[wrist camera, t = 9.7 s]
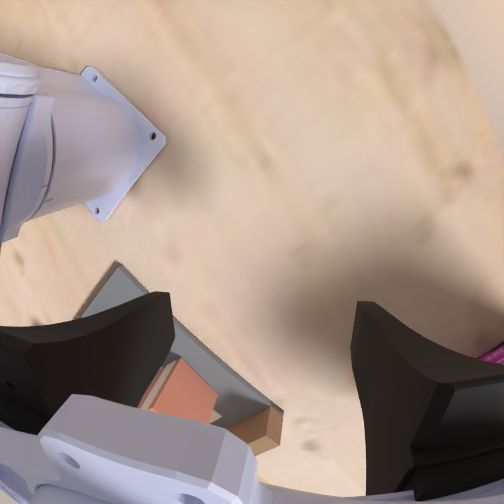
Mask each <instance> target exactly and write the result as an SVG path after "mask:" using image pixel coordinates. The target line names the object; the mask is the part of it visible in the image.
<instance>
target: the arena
mask: <svg viewBox="0 0 504 504" xmlns="http://www.w3.org/2000/svg"><path fill="white" fill-rule="evenodd" d="M148 293H149V292H148V291H147V290H146V289H145V288H144V287H143V286H142V285H141V284H140V283H139V282H138V281H137V280H136V279H135V277H134V276H133V275H132V274H131V273H130V272H129V271H128V270H127V269H126V268H125V267H124V266H123V265H120V266H119V267H118V268H117V269H116V270H115V272H114V273H113V274H112V276H111V277H110V278H109V280H108V281H107V282H106V284H105V285H104V286H103V288H102V289H101V290H100V292H99V293H98V294H97V296H96V297H95V298H94V300H93V301H92V302H91V304H90V305H89V307H88V308H87V309H86V311H85V312H84V314H83V315H82V316H81V318H84V317H87V316H90V315H94V314H97V313H99V312H102V311H105V310H107V309H110V308H113V307H115V306H118V305H120V304H123V303H125V302H128V301H130V300H132V299H135V298H137V297H140V296H142V295H145V294H148ZM173 322H174V329H175V336H176V337H175V339H174V342H173V344H172V347H171V349H170V352H169V354H168V356H167V358H166V359H165V361H164V363H163V364H162V366H161V368H160V369H162V368H164V367H165V366H167V365H168V364H170V363H171V362H173V361H175V360H178V359H179V358H181V357H182V358H183V359H184V360H185V362H186V363H187V364H188V365H189V366H190V367H191V368H192V369H193V370H194V371H195V372H196V373H197V374H198V375H199V376H200V377H201V378H202V379H203V380H204V381H205V382H206V383H207V384H208V385H209V386H210V387H211V388H212V389H213V390H214V391H215V392H216V393H217V394H218V397H217V400H216V402H215V405H214V408H213V411H212V414H211V416H210V419H209V422H208V424H211V425H214V426H218V427H221V428H225V429H226V430H228V431H229V432H231V433H232V434H234V435H235V436H237V437H238V438H240V439H241V440H243V441H244V442H246V443H247V444H248V445H249V446H250V448H251V450H252V452H253V454H254V456H256V455H259V454H261V453H263V452H266V451H268V450H270V449H273V448H275V447H277V446H279V445H280V440H281V431H282V422H283V413H284V411H283V410H282V409H281V408H279V407H278V406H277V405H275V404H274V403H273V402H272V401H270V400H269V399H268V398H267V397H265V396H264V395H263V394H262V393H260V392H259V391H258V390H257V389H255V388H254V387H253V386H252V385H250V384H249V383H248V382H247V381H246V380H244V379H243V378H242V377H241V376H240V375H238V374H237V373H236V372H235V371H234V370H233V369H231V368H230V367H229V366H228V365H227V364H226V363H224V362H223V361H222V360H221V359H220V358H219V357H217V356H216V355H215V354H214V353H213V352H212V351H211V350H210V349H208V348H207V347H206V346H205V345H204V344H203V343H202V342H201V341H200V340H198V339H197V338H196V337H195V336H194V335H193V334H192V333H191V332H190V331H189V330H188V329H186V328H185V327H184V326H183V325H182V324H181V323H180V322H179V321H178V320H177V319H176V318H175V317H174V316H173ZM160 369H159V370H160Z"/></svg>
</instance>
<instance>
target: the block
mask: <svg viewBox="0 0 504 504" xmlns="http://www.w3.org/2000/svg"><path fill="white" fill-rule="evenodd" d="M217 397H218V394H217V393H216V392H215V391H214V390H213V389H212V388H211V387H210V386H209V385H208V384H207V383H206V382H205V381H204V380H203V379H202V378H201V377H200V376H199V375H198V374H197V373H196V372H195V371H194V370H193V369H192V368H191V367H190V366H189V365H188V364H187V363H186V362H185V360H184V359H183V358H182V357H181V358H179V359H178V360H175V361H173V362H171V363H170V364H168V365H167V366H165V367H164V368H162V369H160V370H159V371H158V372H157V374H156V376H155V377H154V379H153V380H152V382H151V384H150V385H149V387H148V388H147V390H146V392H145V393H144V395H143V397H142V399H141V401H140V403H139V405H138V407H137V408H139V409H143V410H147V411H152V412H156V413H161V414H166V415H171V416H176V417H181V418H187V419H192V420H199V421H202V422H205V423H208V422H209V419H210V416H211V414H212V411H213V408H214V405H215V402H216V400H217Z"/></svg>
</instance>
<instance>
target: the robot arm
mask: <svg viewBox="0 0 504 504" xmlns="http://www.w3.org/2000/svg"><path fill="white" fill-rule="evenodd" d="M96 77H97V80H96V81H95V78H96ZM153 133H155V134H156V138H155V139H154V140H153V139H152V134H153ZM166 141H167V140H166V137H165V135H164V134H162V133H161V132H160V131H159V130H158V129H157V128H156V127H155V126H154V125H153V124H152V123H151V122H150V121H149V120H148V119H147V118H146V117H145V116H144V115H143V114H142V113H141V112H140V111H139V110H138V109H137V108H136V107H135V106H134V105H133V104H132V103H131V102H130V101H129V100H128V99H126V98H125V97H124V96H123V95H122V94H121V93H120V92H119V91H118V90H117V89H116V88H115V87H114V86H113V85H112V84H111V83H110V82H109V81H108V80H107V79H106V78H105V77H104V76H102V75H101V74H100V73H99V72H98V71H97V70H96V69H95V68H94V67H92V66H88V67H86V68H85V69H84V70H83V72H82V73H81V75H76V74H72V73H68V72H63V71H59V70H54V69H50V68H45V67H40V66H36V65H35V64H33V63H31V62H28V61H25V60H22V59H19V58H16V57H12V56H9V55H5V54H0V253H1V245H2V244H1V243H3V242H6V241H8V240H10V239H13V238H15V237H18V233H19V229H20V227H21V226H22V224H23V223H24V222H27V221H29V220H32V219H35V218H38V217H41V216H44V215H47V214H50V213H53V212H56V211H59V210H62V209H65V208H69V207H72V206H75V205H78V204H81V203H83V204H84V205H85V206H86V207H87V208H88V210H89V211H90V212H91V213H92V214H93V215H94V216H95V218H96V219H97V220H98V221H99V222H104V221H106V220H107V219H108V218H109V217H110V215H111V214H112V212H113V211H114V210H115V208H116V207H117V205H118V204H119V203H120V201H121V200H122V199H123V197H124V196H125V195H126V193H127V192H128V191H129V189H130V188H131V187H132V186H133V184H134V183H135V182H136V180H137V179H138V178H139V177H140V175H141V174H142V173H143V172H144V170H145V169H146V168H147V167H148V165H149V164H150V163H151V162H152V160H153V159H154V158H155V157H156V156H157V154H158V153H159V152H160V151H161V150H162V149H163V147H164V146H165V145H166ZM97 208H98V209H99V213H98V212H97ZM175 337H176V336H175V329H174V322H173V315H172V308H171V300H170V293H169V292H157V291H156V292H151V293H148V294H145V295H142V296H140V297H137V298H135V299H132V300H130V301H128V302H125V303H123V304H120V305H118V306H115V307H113V308H110V309H107V310H105V311H102V312H99V313H97V314H94V315H90V316H87V317H84V318H80V319H76V320H72V321H67V322H62V323H56V324H50V325H42V326H29V327H9V326H0V489H1V490H2V491H3V492H4V493H6V494H7V495H8V496H9V497H11V498H12V499H13V500H14V501H16V502H17V503H18V504H504V364H499V363H493V362H488V361H483V360H480V359H476V358H472V357H469V356H466V355H462V354H460V353H457V352H455V351H452V350H449V349H447V348H445V347H442V346H440V345H438V344H436V343H434V342H432V341H430V340H428V339H427V338H425V337H423V336H421V335H420V334H418V333H417V332H415V331H414V330H412V329H410V328H409V327H407V326H406V325H405V324H403V323H402V322H400V321H399V320H398V319H396V318H395V317H394V316H392V315H391V314H390V313H389V312H387V311H386V310H385V309H383V308H382V307H381V306H379V305H378V304H376V303H375V302H369V301H357V307H356V315H355V322H354V328H353V335H352V341H351V347H350V348H351V359H352V369H353V373H354V378H355V382H356V386H357V390H358V395H359V399H360V404H361V408H362V413H363V419H364V428H365V443H366V496H357V497H336V496H328V495H322V494H315V493H309V492H304V491H298V490H293V489H288V488H284V487H279V486H275V485H271V484H266V483H262V482H259V481H258V477H257V460H256V458H255V456H254V454H253V452H252V450H251V448H250V446H249V445H248V444H247V443H246V442H244V441H243V440H241V439H240V438H238V437H237V436H235V435H234V434H232V433H231V432H229V431H228V430H226V429H225V428H221V427H218V426H214V425H211V424H208V423H205V422H202V421H199V420H192V419H187V418H181V417H176V416H171V415H166V414H161V413H156V412H152V411H147V410H143V409H139V408H137V407H138V405H139V403H140V401H141V399H142V397H143V395H144V393H145V392H146V390H147V388H148V387H149V385H150V384H151V382H152V380H153V379H154V377H155V376H156V374H157V372H158V371H159V369H160V368H161V366H162V364H163V363H164V361H165V359H166V358H167V356H168V354H169V352H170V349H171V347H172V344H173V342H174V339H175Z"/></svg>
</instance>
